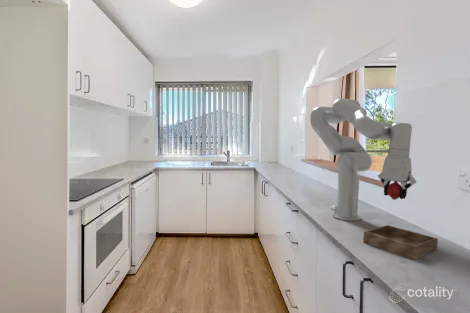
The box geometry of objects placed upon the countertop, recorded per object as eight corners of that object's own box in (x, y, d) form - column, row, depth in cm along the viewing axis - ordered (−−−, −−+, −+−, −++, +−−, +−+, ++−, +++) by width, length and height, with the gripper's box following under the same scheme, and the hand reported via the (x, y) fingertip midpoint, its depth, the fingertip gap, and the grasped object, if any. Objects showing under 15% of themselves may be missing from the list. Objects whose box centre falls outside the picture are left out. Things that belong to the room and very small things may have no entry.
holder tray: (363, 242, 114) (364, 231, 113) (386, 235, 123) (387, 225, 122) (414, 259, 99) (415, 246, 98) (436, 250, 108) (437, 238, 108)
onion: (387, 197, 131) (388, 178, 130) (402, 199, 128) (404, 180, 127) (385, 199, 126) (387, 180, 125) (401, 202, 123) (403, 182, 122)
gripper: (373, 151, 130) (369, 193, 132) (416, 155, 116) (411, 202, 118) (383, 151, 134) (379, 191, 136) (425, 155, 120) (420, 200, 122)
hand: (394, 196), depth 127 cm, fingers closed on onion, 5 cm apart
